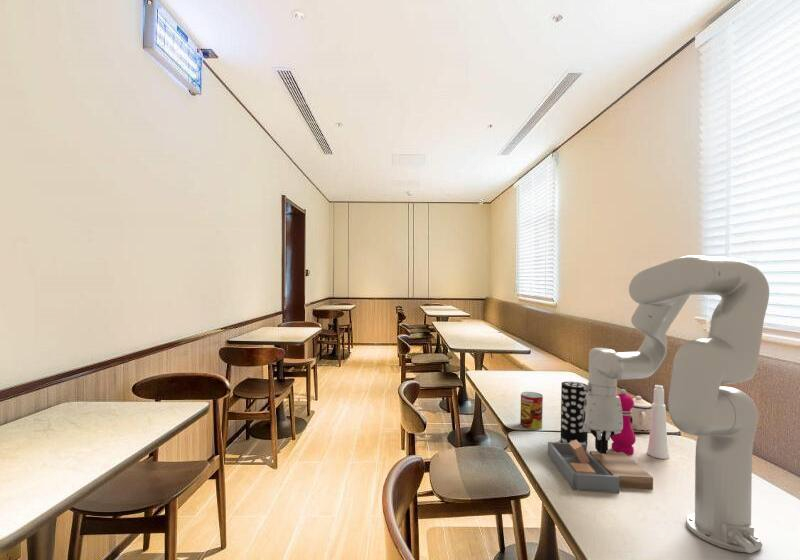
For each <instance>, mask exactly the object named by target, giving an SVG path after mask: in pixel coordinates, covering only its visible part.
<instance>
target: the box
mask: <svg viewBox="0 0 800 560" xmlns="http://www.w3.org/2000/svg"><path fill="white" fill-rule="evenodd" d="M580 444H581V443H580ZM581 445H582V447H583V449H584V451H585V453H586V455H587V457H588V459H589V461H590V462H588V463H585V464H589V465H590V466H591V468H592V469H593V470H594V471H595V474H576V473H575V472H574V471H573V469H572V468H571V467H570V463H580V462H579V461H578V460H577V458H576V457H575V455H574V453H573V451H572V449H571V447H570V445H569V443H561V442H559V441H558V442H555V441H554V442H553V441H548V442H547V455H548V457H549V459H550V460H551V461H552V463H553V464H554V465H555V466H556V468H557V469H558V471H559V472H560V474H561V475H562V477H563V478H564V479H565V481H566V482H567V483H568V485H569V486H570V487H571V489H572V490H573V491H577V490H578V491H581V492H596V491H597V493H600V492H601V493H615V494H617V493H618V494H619V493H620V487H619V478H620V477H619V476H615V475H611V474H610V473H609V472H608V471H607V470H606V469H605V468H604V467H603V466H602V465H601V464H600V463H599V462H598V461H597V460H596V459H595V458H594V457H593V456H592V455H591V454H590V451H588V443H587V444H581Z"/></svg>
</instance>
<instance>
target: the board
mask: <svg viewBox="0 0 800 560" xmlns="http://www.w3.org/2000/svg"><path fill="white" fill-rule="evenodd" d="M589 453H590V454H591V455H592V456H593V457H594V458H595V459H596V460H597V461H598V462H599V463H600V464H601V465H602V466H603V467H604V468H605V469H606V470H607V471H608V472H609V473H610V474H611V475H615V476H619V477H620V478H619V488H627V489H629V488H631V489H645V490H647V489H648V490H653V489H654V477H653V476H652V475H651V474H650V473H649V472H648V471H646V470H645V469H644V468H643V467H641V466H640V465H639V464H638V463H637V462H635V460H633V459H632V458H630V456H629V455H626V454H625V453H624V452H615V451H606V454H604V453H603V454H600V453H599V452H598V451H597V450H589Z"/></svg>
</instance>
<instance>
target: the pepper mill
mask: <svg viewBox="0 0 800 560" xmlns="http://www.w3.org/2000/svg"><path fill="white" fill-rule="evenodd" d="M619 392H620V393H617V396H619V397H620V400H621V406H622V415H623V429H622V430H621V433H619V434H614V435H613V436H612V437H610V439H611V441H612V443H611V450H612V452H624V453H625V454H626V455H627V456H630V455H631V456H632V455H634V453H635V452H634V451H635V448H634V446H633V445H634V444H635V443H636V440H637V439H636V434H635V432H634V429H632V427H631V424H630V415H632V410H631V408H633V406H634V401H633V397H632V396H630V395H629V394H627V389H624V388H622V389H620V391H619Z"/></svg>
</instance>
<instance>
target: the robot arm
mask: <svg viewBox="0 0 800 560" xmlns="http://www.w3.org/2000/svg"><path fill="white" fill-rule="evenodd" d="M628 292H629V293H628V295H629V296H630V298H631V299H632V301H634V302H635V303H637V304H638V306H637V308H635V311H634V312H633V314H632V315H631V317H630V319H631V320H630V322H631V324H632V325H633V327H634V328H635V329H636V330H638V331H639V332H640V333H641V334H644V340H643V341H642V343H641V345H640V346H639V348H638V349H637V350H636V351H618V352H617V351H615V349H612V348H607V347H594V348H591V349H590V350H589V353H588V382H587V384H586V385H587V386H584V390H587V391H588V393H586V396H585V401H584V407H583V424H584V425H583V428H582V429H583V430H584V431H585V432H588V433H589V434H592V436H594V438H595V439H594V445H595V446H594V447H595V449H596V451H598V452H599V453H600V454H603V453H604V454H606V452H608V450H609V449H608V448H609V441H610V439H611V438H610V437H612V436H613V435H614V434H619V433H621V430H622V429H623V415H622V406H621V400H620V397H619V396H617V394H618V393H617V391H618V390H617V389H618V381H621V380H622V381H623V380H624V381H625V380H637V379H638V380H639V379H647V378H649V377H651V376H652V375H653V374H654V373H655V372H657V370H658V369H659V368H660V366H661V365H662V363H663V361H664V360H665V358H666V356H667V352H668V338H667V333H668V331H669V328H671V326H672V324H673V323H674V321H675V320H676V318H677V316H678V315H679V313H680V312H681V310H682V309H683V307H684V305H686V302H687V301H688V299H690V296H691V295H693V296H694V295H698V296H699V295H702V296H705V295H706V296H719V297H720V298H721V299H720V301H719V302H718V304H717V305H716V306H715V309H713V312H712V315H711V318H710V328H709V332H708V335H707V338H695V339H691V340H689V341H685V343H683V344H682V345H681V346H680V347H679V348H678V350H677V351H676V352H675V354H674V355H675V356H674V357H673V361H672V369H671V376H670V384H669V392H668V399H667V408H668V414H669V416H670V419H671V421H672V423H673V425H674V426H675V427H676V428H677V429H678V430H679V431H681V432H683V433H684V434H687V435H689V436H695V437H697V438H696V439H697V440H696V441H695V442H696V443H695V455H694V456H695V459H694V460H695V463H694V466H695V468H694V470H695V471H694V512H693V513H692V512H691V513H690V514H688V515H686V517H685V524H686V525H685V526H687V528H688V529H689V530H690V531H691V533H693V534H694V535H695V536H697V537H698V538H700V539H701V540H704V541H705V542H707V543H710V544H711V545H714V546H716V547H719V548H722V549H725V550H728V551H732V552H739V553H748V554H752V553H755V552H757V551H760V550H761V549H762V547H763V543H762V541H761V538H760V537H759V536H758V534H757V533H756V532H755V527H754V526H753V525H752V487H753V486H752V478H753V477H752V476H753V475H752V474H753V471H752V469H753V450H754V449H753V448H754V441H755V436H756V432H757V428H758V423H759V412H758V408H757V405H756V403H755V402H754V400H753V399H752V398H751V397H750V395H748V393H745V392H744V391H742V390H740V389H738V388H736V387H731V386H723V385H732V384H739V383H740V384H741V383H745V382H748V381H750V380H752V379H753V378H754V376H755V375H756V373H757V369H758V364H759V358H760V357H759V356H760V352H761V351H760V349H761V345H762V337H763V330H764V329H763V328H764V321H765V318H766V313H767V309H768V304H769V298H770V285H769V283H768V280H767V278H766V276H765V275H764V273H763V272H762V271H761V270H760V269H759V268H758V267H757V266H756V265H754V264H752V263H750V262H748V261H746V260H742V259H740V258H735V257H729V256H727V257H726V256H715V255H714V256H709V255H685V256H680V257H677V258H673V259H671V260H668V261H665V262H663V263H659V264H656V265H654V266H651V267H648V268H646V269H643V270H642V271H638V272H637V273H636V274H635V275H634V276H633V278H632V279H631V280H630V282H629V286H628ZM721 385H722V386H721Z"/></svg>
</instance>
